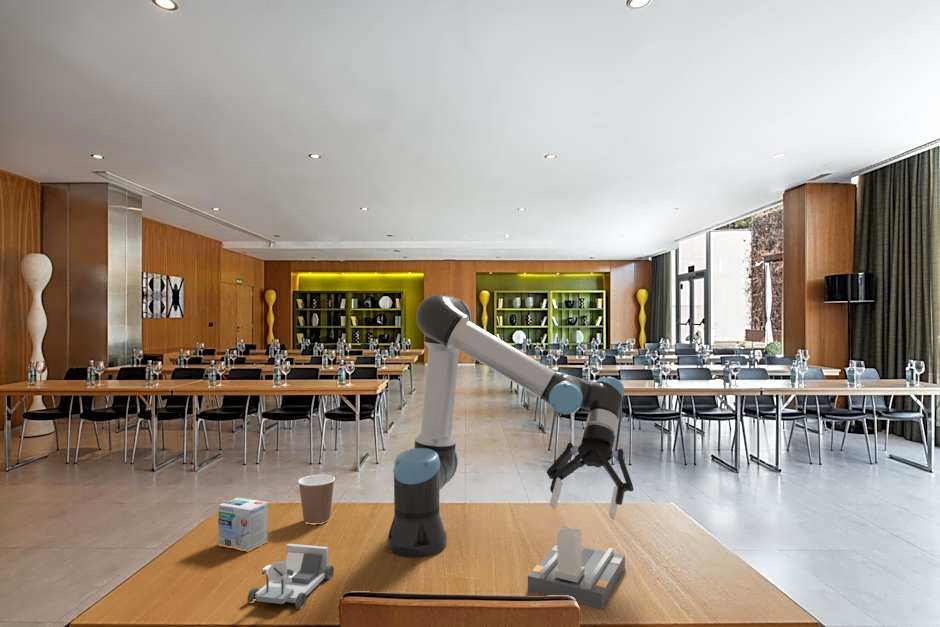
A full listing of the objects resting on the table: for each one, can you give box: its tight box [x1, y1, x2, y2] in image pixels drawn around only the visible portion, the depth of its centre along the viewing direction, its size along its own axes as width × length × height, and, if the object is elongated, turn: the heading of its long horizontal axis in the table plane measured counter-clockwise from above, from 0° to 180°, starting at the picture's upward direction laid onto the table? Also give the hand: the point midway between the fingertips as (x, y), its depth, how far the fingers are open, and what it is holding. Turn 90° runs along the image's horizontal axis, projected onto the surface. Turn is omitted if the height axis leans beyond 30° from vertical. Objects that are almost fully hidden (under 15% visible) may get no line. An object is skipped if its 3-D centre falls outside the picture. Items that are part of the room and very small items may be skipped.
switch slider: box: [554, 526, 585, 583], centre depth 114 cm, size 5×5×9 cm
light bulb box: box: [217, 497, 269, 550], centre depth 139 cm, size 11×7×11 cm, turn 68°
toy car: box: [247, 543, 335, 610], centre depth 114 cm, size 18×10×12 cm
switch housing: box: [527, 544, 626, 610], centre depth 119 cm, size 16×20×4 cm
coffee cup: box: [297, 474, 336, 523], centre depth 155 cm, size 10×10×12 cm
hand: (581, 511), depth 120 cm, fingers open, 13 cm apart
